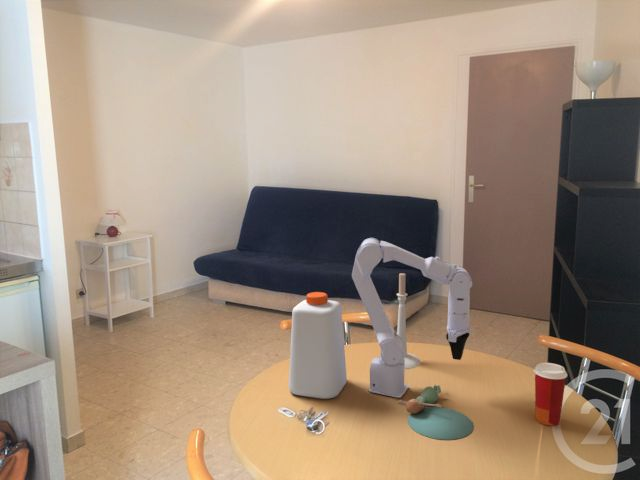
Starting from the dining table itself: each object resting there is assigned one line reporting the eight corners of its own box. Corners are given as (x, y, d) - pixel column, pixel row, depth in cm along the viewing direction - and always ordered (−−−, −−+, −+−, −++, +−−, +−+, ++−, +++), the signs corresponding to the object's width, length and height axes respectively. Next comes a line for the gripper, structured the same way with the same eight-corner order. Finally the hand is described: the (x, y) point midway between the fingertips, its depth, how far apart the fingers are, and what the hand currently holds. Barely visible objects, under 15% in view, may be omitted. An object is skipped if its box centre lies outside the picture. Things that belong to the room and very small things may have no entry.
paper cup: (562, 415, 135) (565, 363, 133) (565, 430, 128) (569, 375, 126) (529, 410, 138) (532, 360, 135) (531, 425, 130) (534, 371, 128)
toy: (458, 383, 141) (429, 402, 130) (461, 399, 141) (432, 419, 130) (416, 380, 150) (386, 398, 139) (418, 395, 150) (389, 414, 139)
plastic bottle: (335, 402, 144) (334, 303, 139) (284, 395, 148) (281, 299, 144) (350, 380, 158) (349, 289, 153) (303, 374, 162) (301, 286, 158)
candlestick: (425, 358, 174) (427, 269, 169) (415, 373, 162) (417, 278, 157) (387, 353, 179) (388, 266, 174) (376, 366, 167) (376, 275, 162)
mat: (399, 430, 129) (399, 429, 129) (418, 403, 143) (418, 402, 143) (465, 446, 121) (465, 445, 121) (478, 415, 136) (478, 414, 135)
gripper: (468, 321, 136) (466, 370, 138) (478, 306, 149) (476, 352, 151) (440, 317, 139) (439, 366, 141) (453, 303, 152) (452, 348, 154)
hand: (457, 358), depth 146 cm, fingers closed
